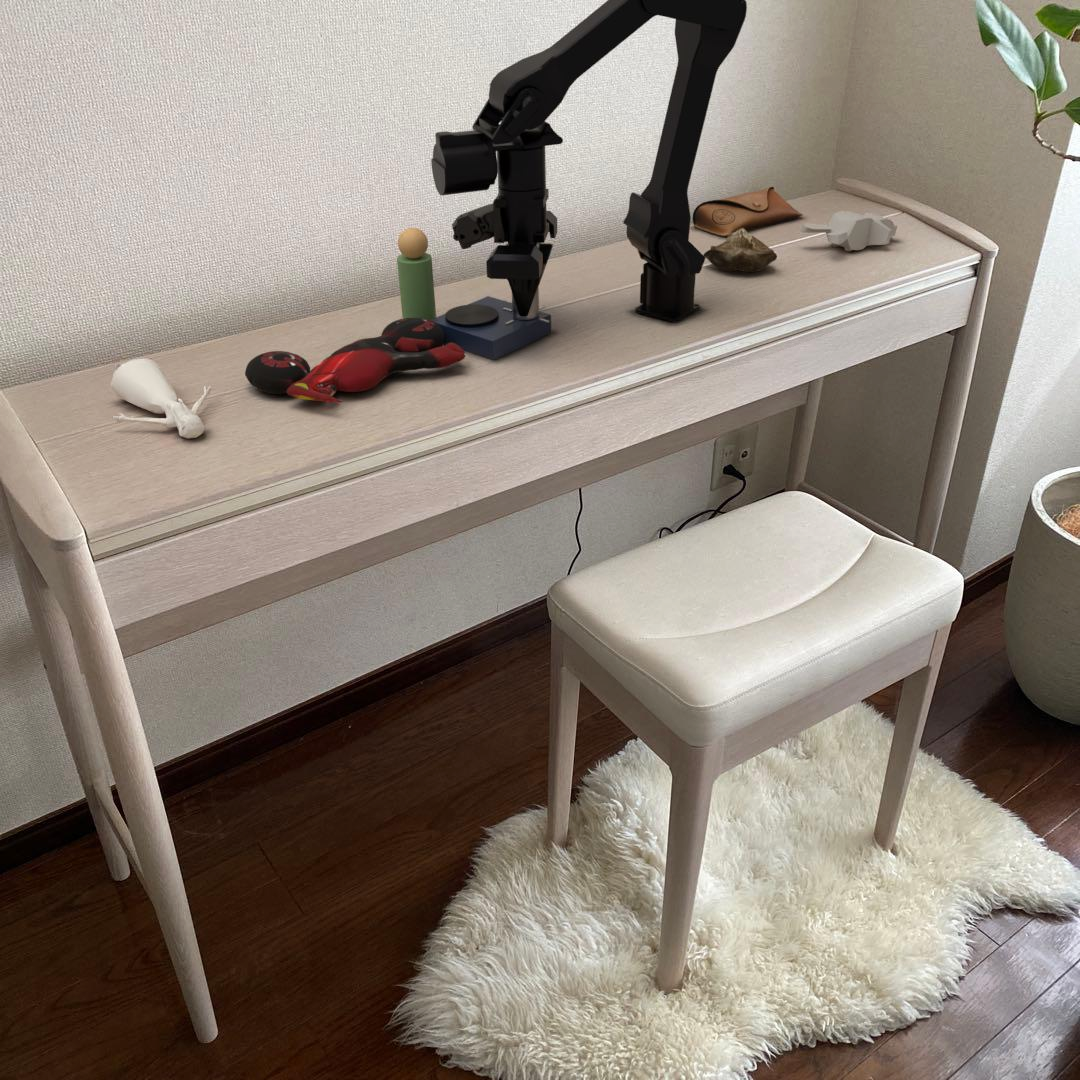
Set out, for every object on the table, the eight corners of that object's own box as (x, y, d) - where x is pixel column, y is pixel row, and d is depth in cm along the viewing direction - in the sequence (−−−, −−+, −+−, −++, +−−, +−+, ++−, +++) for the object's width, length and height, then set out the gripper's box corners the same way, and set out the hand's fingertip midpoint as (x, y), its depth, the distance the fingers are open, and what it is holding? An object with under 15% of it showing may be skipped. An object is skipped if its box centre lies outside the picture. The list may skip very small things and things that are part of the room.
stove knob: (542, 311, 136) (541, 280, 134) (534, 321, 133) (534, 289, 131) (516, 309, 137) (515, 278, 135) (509, 319, 134) (507, 287, 132)
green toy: (443, 324, 140) (436, 227, 133) (419, 334, 137) (411, 235, 130) (420, 317, 142) (412, 221, 135) (396, 327, 139) (386, 229, 132)
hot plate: (567, 332, 137) (567, 312, 135) (503, 363, 129) (502, 342, 127) (496, 310, 144) (495, 291, 142) (430, 338, 136) (429, 319, 134)
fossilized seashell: (696, 258, 152) (763, 278, 150) (713, 213, 151) (780, 233, 149) (704, 270, 159) (768, 289, 157) (720, 227, 159) (784, 246, 156)
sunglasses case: (728, 235, 167) (715, 194, 166) (700, 248, 173) (687, 209, 172) (806, 214, 175) (795, 175, 175) (777, 227, 182) (766, 189, 181)
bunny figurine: (914, 219, 160) (842, 224, 153) (905, 253, 163) (835, 260, 156) (868, 205, 167) (797, 209, 160) (860, 237, 170) (791, 243, 163)
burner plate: (509, 315, 135) (509, 312, 135) (473, 332, 131) (472, 328, 131) (471, 304, 139) (470, 300, 139) (434, 319, 135) (433, 315, 134)
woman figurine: (171, 338, 125) (243, 396, 115) (177, 372, 128) (249, 432, 117) (73, 366, 119) (140, 430, 108) (82, 401, 122) (148, 467, 111)
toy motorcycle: (241, 391, 126) (285, 422, 114) (232, 349, 124) (276, 375, 112) (429, 349, 138) (488, 373, 125) (424, 310, 135) (483, 330, 123)
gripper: (470, 164, 135) (476, 283, 143) (439, 206, 119) (448, 336, 128) (557, 165, 133) (558, 285, 142) (536, 208, 118) (539, 339, 127)
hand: (525, 310), depth 135 cm, fingers closed on stove knob, 3 cm apart
